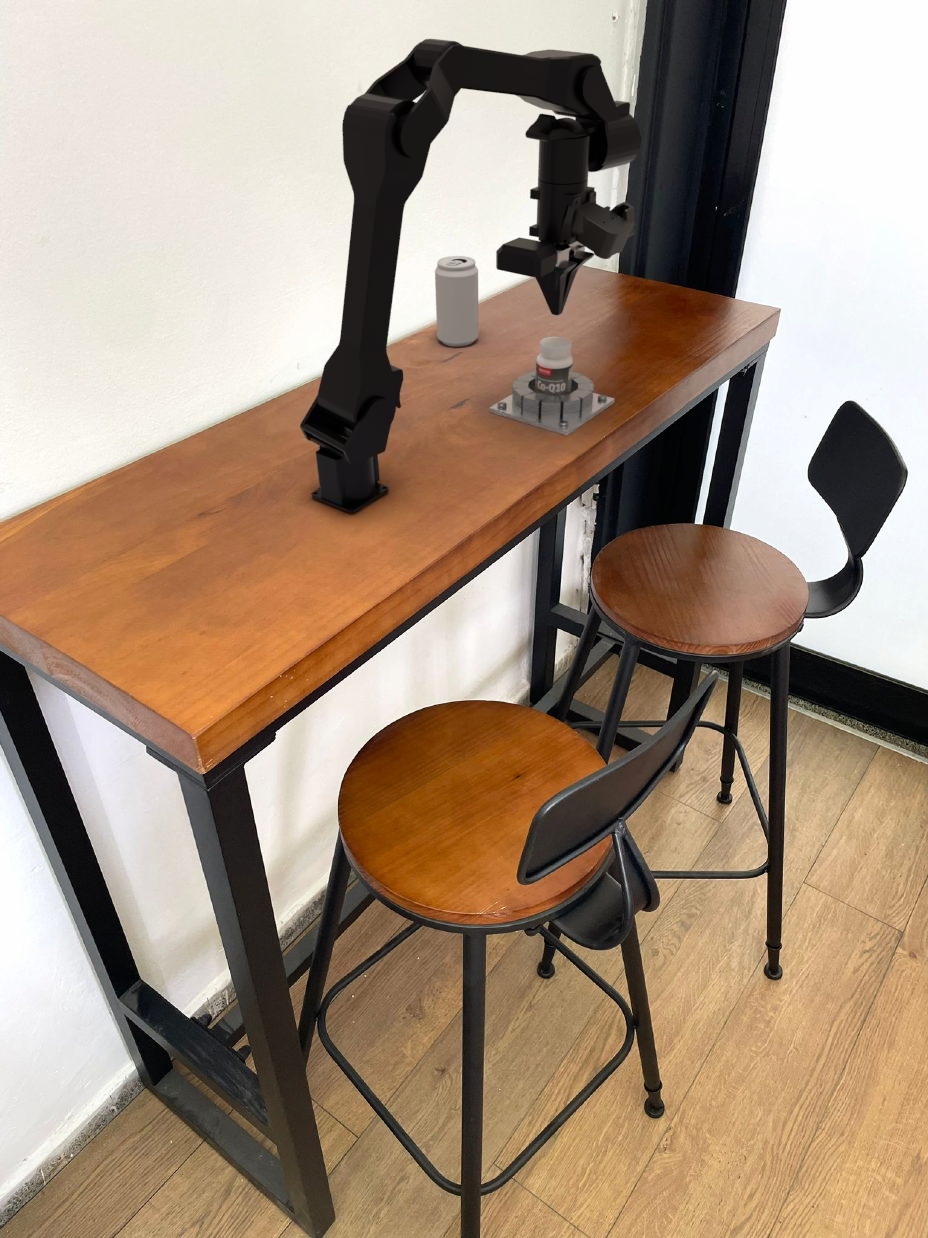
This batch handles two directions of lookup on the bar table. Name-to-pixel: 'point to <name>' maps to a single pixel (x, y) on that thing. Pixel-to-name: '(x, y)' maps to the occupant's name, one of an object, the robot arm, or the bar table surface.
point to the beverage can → (457, 300)
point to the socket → (552, 404)
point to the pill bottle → (554, 367)
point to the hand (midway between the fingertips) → (556, 313)
